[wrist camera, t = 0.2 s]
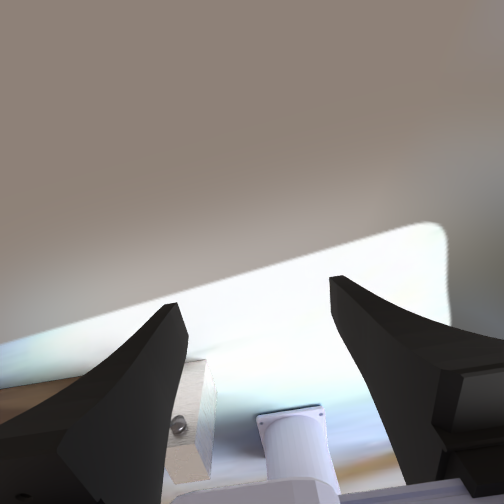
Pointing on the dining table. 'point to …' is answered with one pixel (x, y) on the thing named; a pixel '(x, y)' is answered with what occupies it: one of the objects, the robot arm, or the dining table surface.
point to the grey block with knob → (192, 425)
